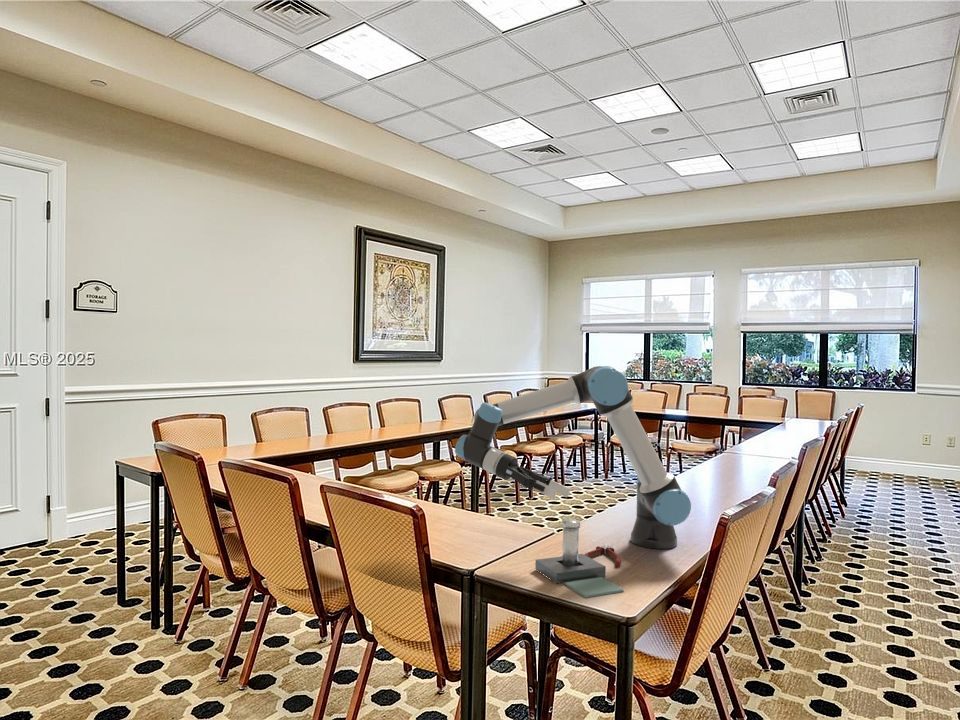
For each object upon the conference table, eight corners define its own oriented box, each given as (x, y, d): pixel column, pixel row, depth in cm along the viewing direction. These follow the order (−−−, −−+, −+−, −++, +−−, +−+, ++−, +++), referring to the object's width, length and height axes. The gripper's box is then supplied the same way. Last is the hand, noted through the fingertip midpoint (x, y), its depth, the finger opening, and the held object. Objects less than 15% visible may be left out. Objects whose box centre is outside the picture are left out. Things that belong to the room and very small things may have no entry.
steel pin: (572, 569, 181) (573, 518, 181) (582, 575, 176) (583, 522, 176) (557, 571, 179) (558, 519, 179) (566, 577, 174) (568, 524, 174)
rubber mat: (601, 579, 173) (601, 576, 173) (623, 591, 164) (623, 589, 164) (564, 584, 168) (564, 582, 168) (585, 597, 159) (585, 595, 159)
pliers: (625, 550, 202) (625, 542, 202) (620, 569, 183) (620, 561, 183) (590, 546, 205) (590, 538, 205) (581, 565, 186) (581, 556, 186)
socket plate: (582, 563, 186) (582, 553, 186) (605, 576, 175) (605, 566, 175) (535, 570, 180) (535, 559, 180) (556, 584, 169) (556, 573, 169)
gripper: (510, 475, 202) (569, 503, 193) (479, 475, 179) (544, 507, 170) (519, 454, 202) (578, 481, 193) (489, 451, 179) (554, 482, 170)
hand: (562, 493), depth 181 cm, fingers open, 13 cm apart
